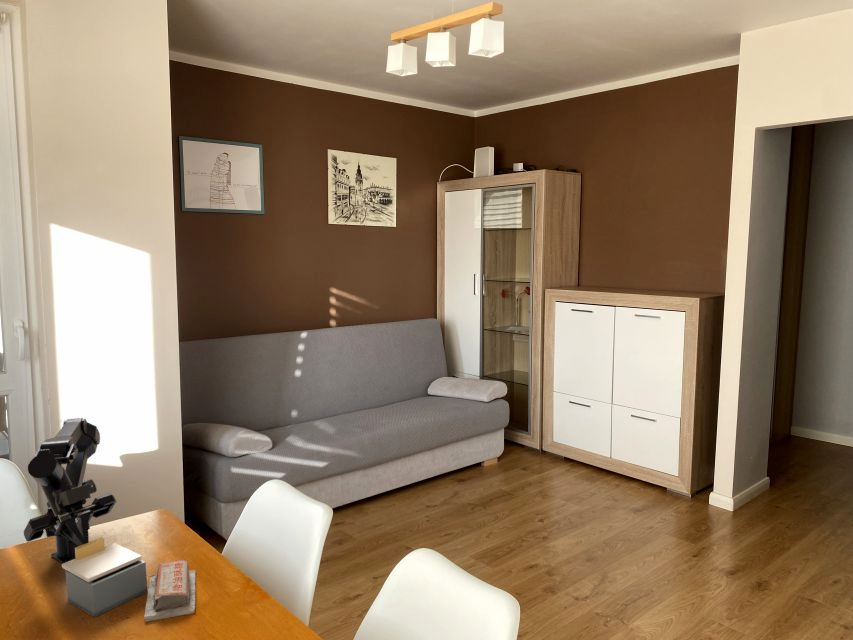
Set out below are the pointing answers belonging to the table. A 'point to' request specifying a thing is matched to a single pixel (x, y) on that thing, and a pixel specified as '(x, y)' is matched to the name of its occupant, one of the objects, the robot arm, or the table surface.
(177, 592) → the packaged product
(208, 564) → the table surface
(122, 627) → the table surface
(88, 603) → the storage box
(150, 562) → the table surface
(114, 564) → the lid
